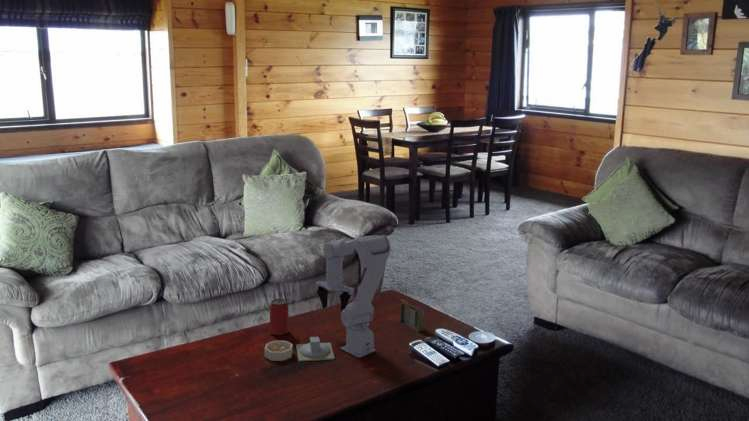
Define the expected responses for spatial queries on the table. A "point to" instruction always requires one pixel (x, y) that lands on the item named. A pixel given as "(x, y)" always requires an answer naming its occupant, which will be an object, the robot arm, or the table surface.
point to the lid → (314, 348)
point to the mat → (303, 358)
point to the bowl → (278, 350)
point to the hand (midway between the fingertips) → (334, 309)
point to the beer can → (279, 317)
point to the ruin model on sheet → (412, 316)
